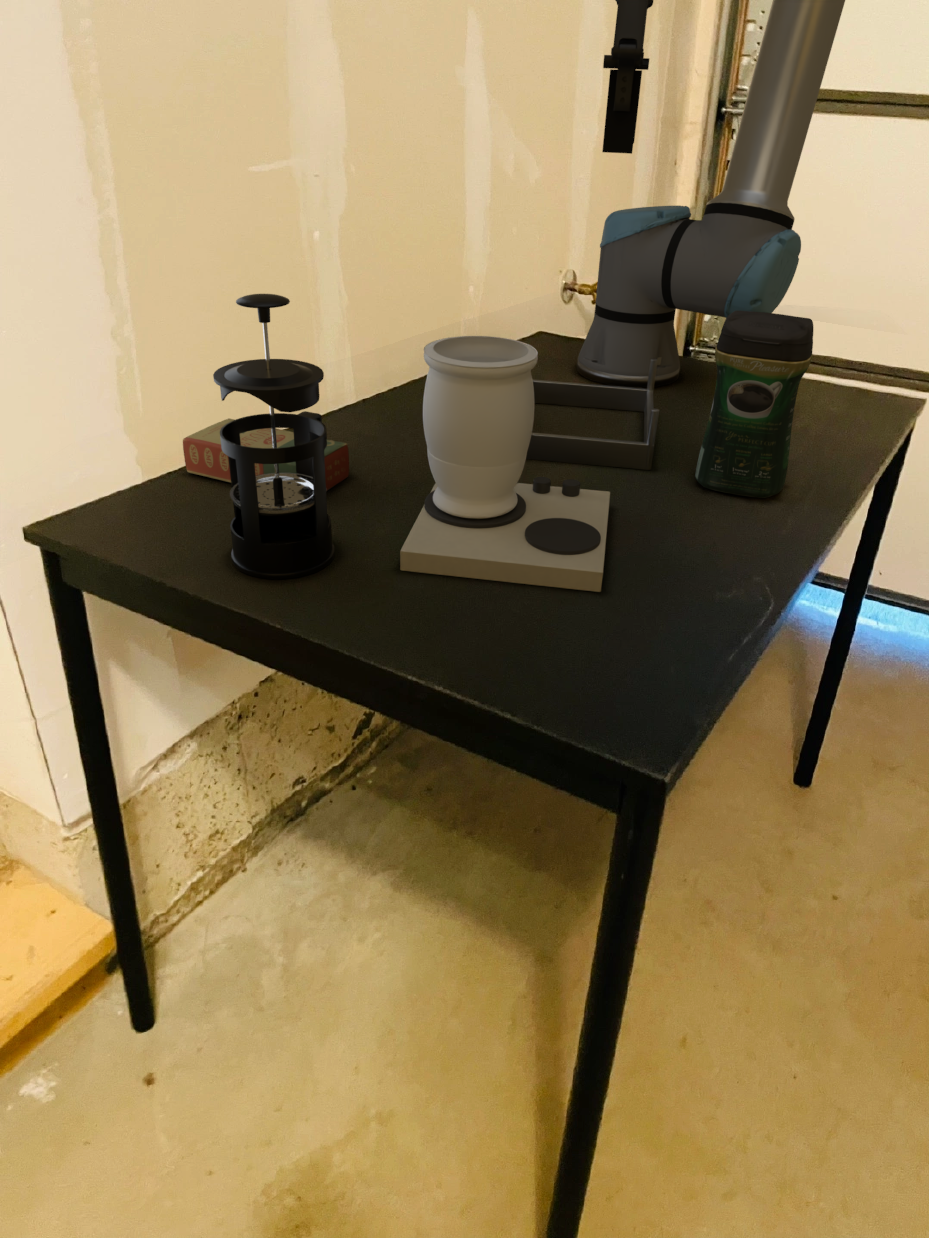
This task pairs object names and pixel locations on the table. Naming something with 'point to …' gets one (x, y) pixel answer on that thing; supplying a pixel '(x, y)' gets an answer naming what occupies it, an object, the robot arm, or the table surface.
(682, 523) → the table surface
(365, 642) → the table surface
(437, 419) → the jar
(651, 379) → the rack
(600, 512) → the stove
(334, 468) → the carton
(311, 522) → the french press
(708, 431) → the coffee jar
